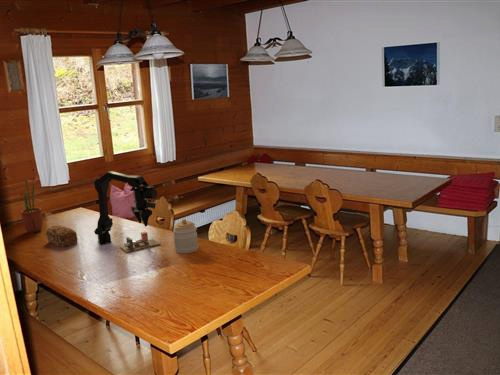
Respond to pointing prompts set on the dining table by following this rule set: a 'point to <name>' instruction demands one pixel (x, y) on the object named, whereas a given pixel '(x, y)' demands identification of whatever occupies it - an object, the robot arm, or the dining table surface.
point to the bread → (61, 236)
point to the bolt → (144, 239)
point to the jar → (185, 237)
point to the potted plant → (31, 213)
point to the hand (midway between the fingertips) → (143, 224)
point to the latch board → (139, 245)
